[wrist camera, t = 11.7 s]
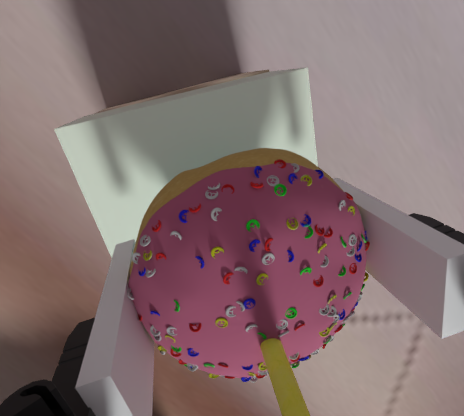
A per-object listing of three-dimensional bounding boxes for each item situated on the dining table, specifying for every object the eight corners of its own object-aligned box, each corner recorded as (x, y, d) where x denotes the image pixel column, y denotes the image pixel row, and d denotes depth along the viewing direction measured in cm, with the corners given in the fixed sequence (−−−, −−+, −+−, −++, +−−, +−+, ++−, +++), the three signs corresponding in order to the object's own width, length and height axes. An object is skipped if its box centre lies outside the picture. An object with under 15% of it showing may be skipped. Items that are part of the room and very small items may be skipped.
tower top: (147, 272, 24) (143, 328, 18) (85, 116, 19) (54, 129, 14) (292, 229, 25) (328, 269, 20) (268, 71, 20) (307, 67, 15)
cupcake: (300, 283, 18) (528, 608, 7) (145, 303, 16) (114, 781, 5) (316, 129, 14) (803, 266, 4) (126, 133, 13) (-77, 422, 2)
